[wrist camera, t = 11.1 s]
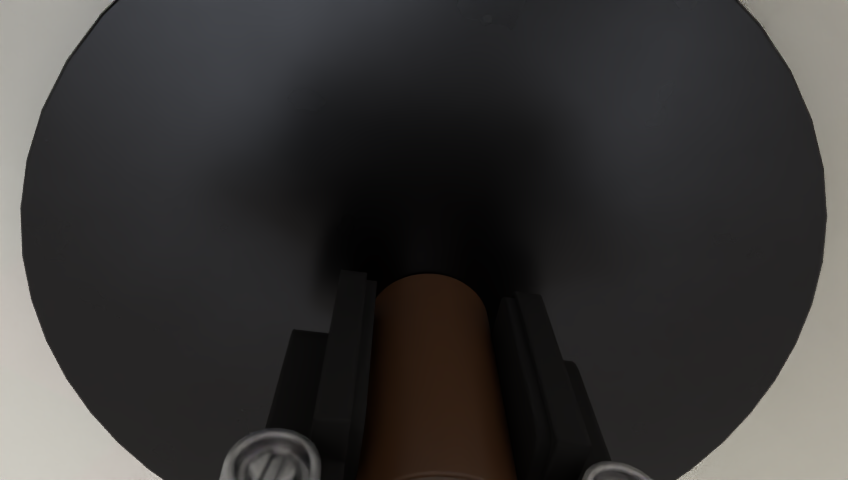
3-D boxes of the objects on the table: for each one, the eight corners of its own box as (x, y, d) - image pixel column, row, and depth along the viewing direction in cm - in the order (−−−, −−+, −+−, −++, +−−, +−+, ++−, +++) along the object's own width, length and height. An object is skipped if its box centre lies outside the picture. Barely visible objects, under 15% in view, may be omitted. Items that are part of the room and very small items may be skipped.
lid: (790, -292, 9) (1347, -577, 4) (800, 451, 17) (982, 706, 11) (-136, 59, 11) (-634, 201, 6) (254, 570, 19) (193, 830, 14)
